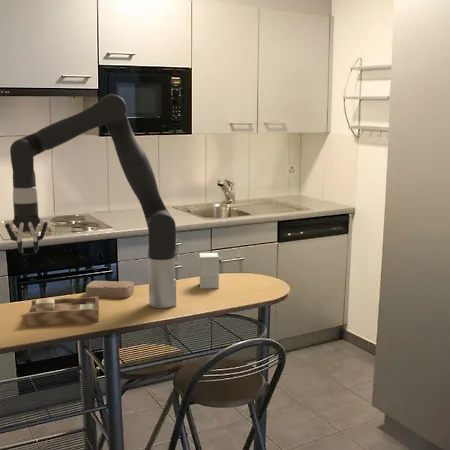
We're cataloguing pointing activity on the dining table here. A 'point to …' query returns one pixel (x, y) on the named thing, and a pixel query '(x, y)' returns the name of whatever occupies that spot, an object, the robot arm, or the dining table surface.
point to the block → (45, 305)
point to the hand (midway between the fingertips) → (28, 252)
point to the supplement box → (209, 270)
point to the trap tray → (66, 312)
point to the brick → (110, 289)
